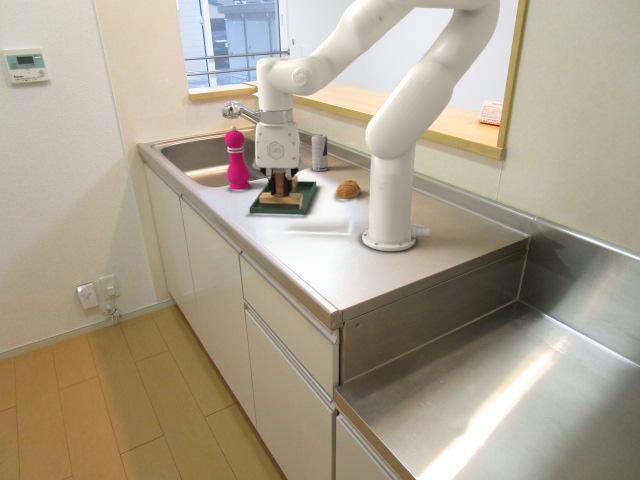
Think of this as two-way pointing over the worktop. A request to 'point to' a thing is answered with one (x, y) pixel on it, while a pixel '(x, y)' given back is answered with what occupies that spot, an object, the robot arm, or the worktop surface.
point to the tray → (303, 188)
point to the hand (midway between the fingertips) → (280, 193)
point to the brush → (280, 195)
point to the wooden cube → (295, 183)
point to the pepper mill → (236, 160)
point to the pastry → (348, 189)
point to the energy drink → (319, 152)
